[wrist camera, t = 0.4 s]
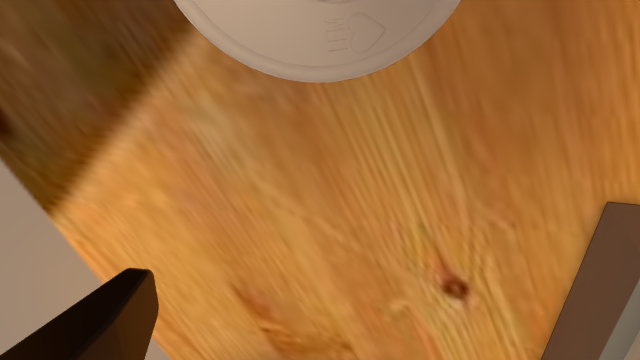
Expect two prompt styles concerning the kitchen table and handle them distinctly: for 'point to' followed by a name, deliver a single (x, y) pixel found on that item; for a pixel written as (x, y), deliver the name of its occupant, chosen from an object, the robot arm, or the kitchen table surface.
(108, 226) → the kitchen table surface
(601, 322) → the stand
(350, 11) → the smoothie
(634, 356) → the carton
